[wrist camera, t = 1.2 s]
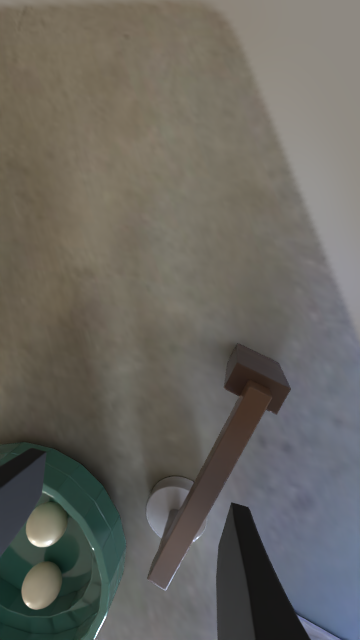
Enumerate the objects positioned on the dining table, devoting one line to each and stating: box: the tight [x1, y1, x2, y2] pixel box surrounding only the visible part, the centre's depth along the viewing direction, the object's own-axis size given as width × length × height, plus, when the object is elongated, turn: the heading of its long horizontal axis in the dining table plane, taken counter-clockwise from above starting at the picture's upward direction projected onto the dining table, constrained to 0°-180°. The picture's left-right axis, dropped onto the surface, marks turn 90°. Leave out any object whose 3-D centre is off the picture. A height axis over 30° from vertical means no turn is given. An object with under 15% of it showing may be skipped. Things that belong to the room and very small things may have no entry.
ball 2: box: [22, 561, 62, 610], centre depth 24 cm, size 3×3×3 cm
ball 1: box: [26, 502, 68, 547], centre depth 23 cm, size 3×3×3 cm
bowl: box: [0, 442, 126, 640], centre depth 24 cm, size 15×15×4 cm
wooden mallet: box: [146, 343, 291, 590], centre depth 20 cm, size 15×4×6 cm, turn 155°
